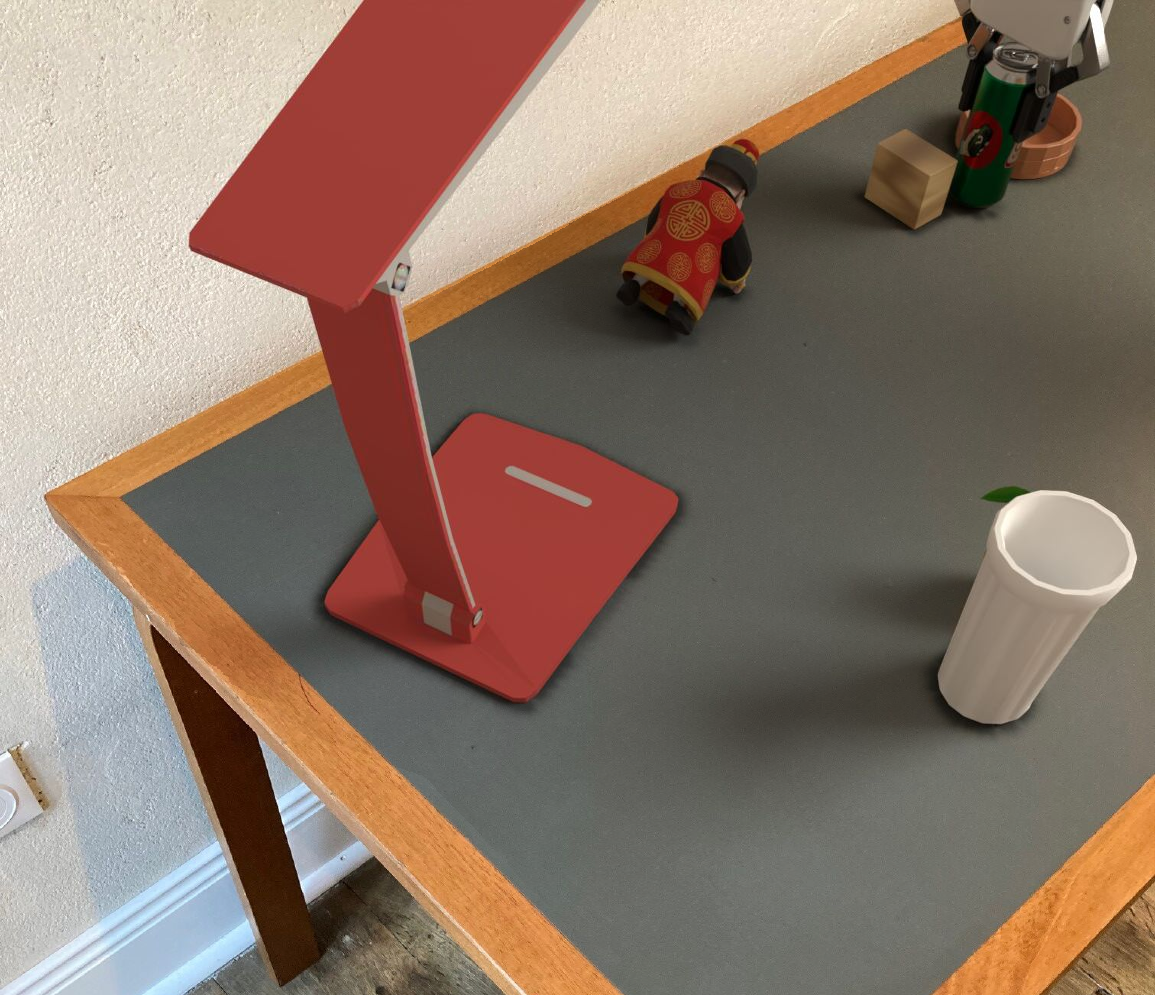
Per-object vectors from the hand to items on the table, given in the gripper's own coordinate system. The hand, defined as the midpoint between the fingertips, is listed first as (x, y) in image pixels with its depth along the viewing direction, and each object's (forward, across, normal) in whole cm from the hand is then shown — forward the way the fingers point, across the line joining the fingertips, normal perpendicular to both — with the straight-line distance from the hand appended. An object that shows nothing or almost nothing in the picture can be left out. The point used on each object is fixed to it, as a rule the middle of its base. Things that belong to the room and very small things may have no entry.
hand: (999, 118), depth 99 cm
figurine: (+7, +6, +29) cm, 30 cm away
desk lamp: (+7, -6, +56) cm, 57 cm away
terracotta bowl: (+7, +3, -9) cm, 12 cm away
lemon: (+8, -32, +34) cm, 47 cm away
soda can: (+7, 0, 0) cm, 7 cm away
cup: (+8, -36, +41) cm, 55 cm away
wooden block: (+7, +3, +6) cm, 10 cm away
